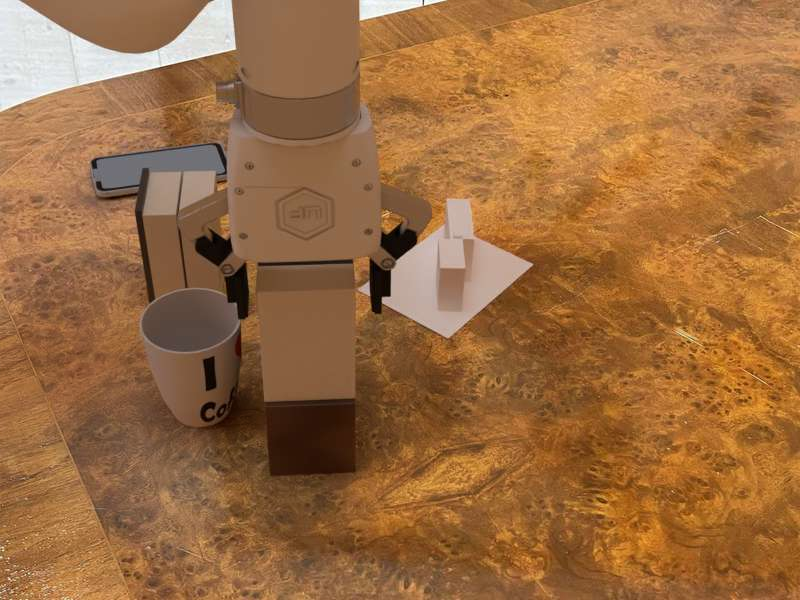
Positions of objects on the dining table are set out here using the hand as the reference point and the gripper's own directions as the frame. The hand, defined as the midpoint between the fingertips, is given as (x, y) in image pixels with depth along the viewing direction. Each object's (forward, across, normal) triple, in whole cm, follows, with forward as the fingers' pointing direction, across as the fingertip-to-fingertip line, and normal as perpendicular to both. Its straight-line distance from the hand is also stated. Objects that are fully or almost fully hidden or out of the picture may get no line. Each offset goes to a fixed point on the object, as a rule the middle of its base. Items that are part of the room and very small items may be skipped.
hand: (310, 304), depth 78 cm
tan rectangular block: (+8, 0, 0) cm, 9 cm away
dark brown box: (+16, 0, +4) cm, 17 cm away
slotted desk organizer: (+16, -10, +23) cm, 30 cm away
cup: (+17, -10, +6) cm, 20 cm away
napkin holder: (+17, +14, +23) cm, 32 cm away
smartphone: (+16, -16, +43) cm, 49 cm away
